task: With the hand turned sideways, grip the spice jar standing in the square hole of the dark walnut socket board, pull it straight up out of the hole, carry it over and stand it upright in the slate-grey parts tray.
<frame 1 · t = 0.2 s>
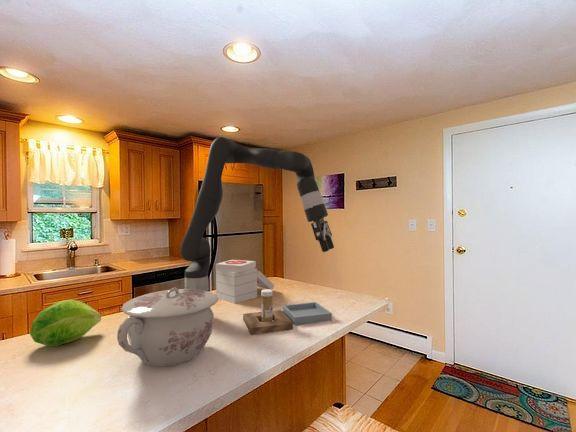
hand: (328, 250, 104), 31 cm above the countertop, tool tilted 20°, fingers open, 8 cm apart
parts tray: (306, 316, 126), on the countertop
cocoa: (138, 322, 119), on the countertop
green papaya: (68, 341, 102), on the countertop
chamber pot: (171, 355, 92), on the countertop
pizza boxes: (244, 295, 158), on the countertop
socket board: (267, 324, 117), on the countertop
spice jar: (267, 325, 117), resting in socket board
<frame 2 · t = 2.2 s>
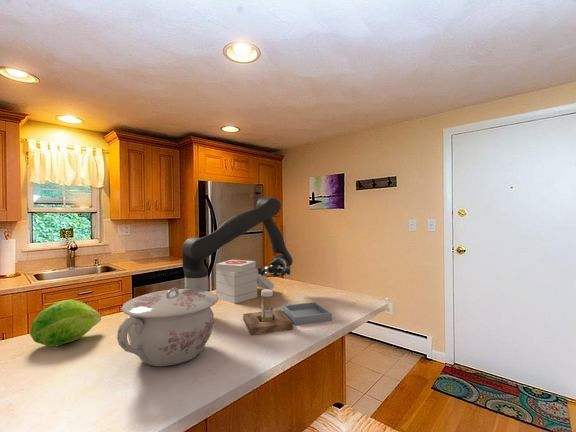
hand: (272, 273, 127), 18 cm above the countertop, tool horizontal, fingers open, 8 cm apart
nothing on the countertop moved.
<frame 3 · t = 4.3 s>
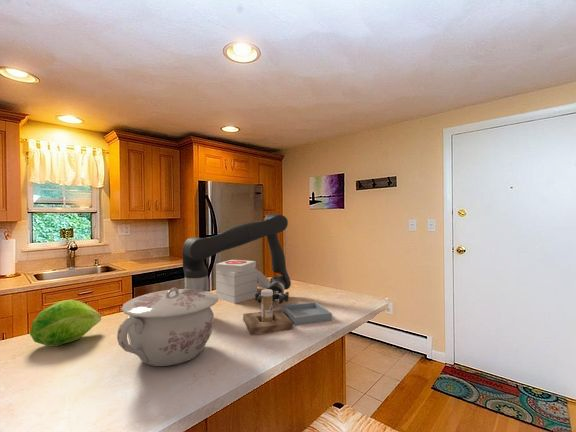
hand: (269, 301, 122), 8 cm above the countertop, tool horizontal, fingers open, 8 cm apart
nothing on the countertop moved.
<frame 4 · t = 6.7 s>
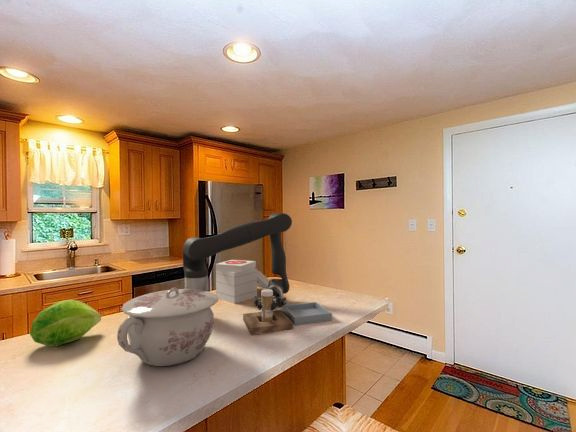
hand: (265, 307, 114), 8 cm above the countertop, tool horizontal, fingers closed on spice jar, 4 cm apart
spice jar: (267, 325, 117), resting in socket board, touching gripper
everything else where it was.
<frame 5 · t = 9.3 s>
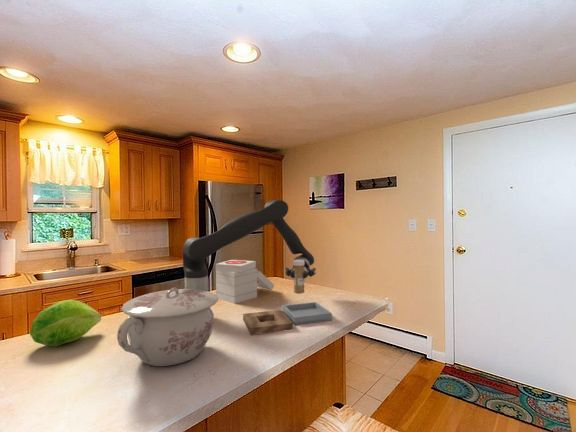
hand: (298, 275, 121), 18 cm above the countertop, tool horizontal, fingers closed on spice jar, 4 cm apart
spice jar: (299, 292, 124), point 10 cm above the countertop, touching gripper
everything else where it was.
when the fingers open (10 cm above the countertop, at t = 11.9 s): spice jar drops 1 cm, resting on parts tray.
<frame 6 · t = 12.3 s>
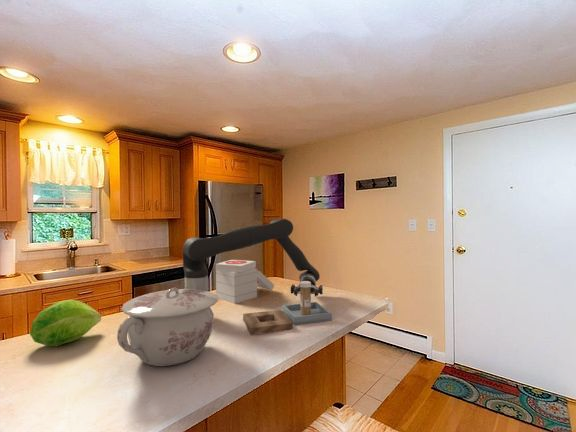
hand: (305, 293, 124), 10 cm above the countertop, tool horizontal, fingers open, 7 cm apart
spice jar: (305, 314, 126), point 1 cm above the countertop, touching parts tray
everything else where it was.
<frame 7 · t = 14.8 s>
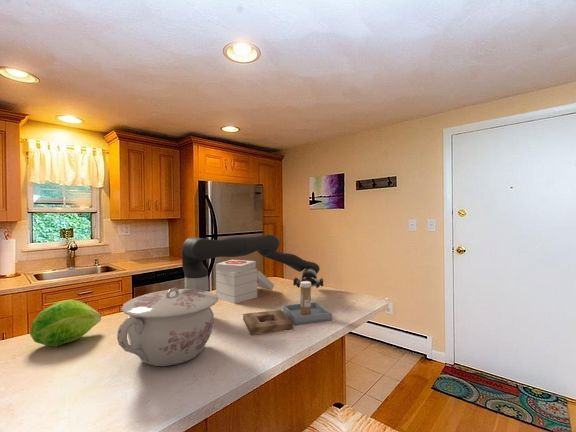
hand: (307, 285, 137), 10 cm above the countertop, tool horizontal, fingers open, 8 cm apart
nothing on the countertop moved.
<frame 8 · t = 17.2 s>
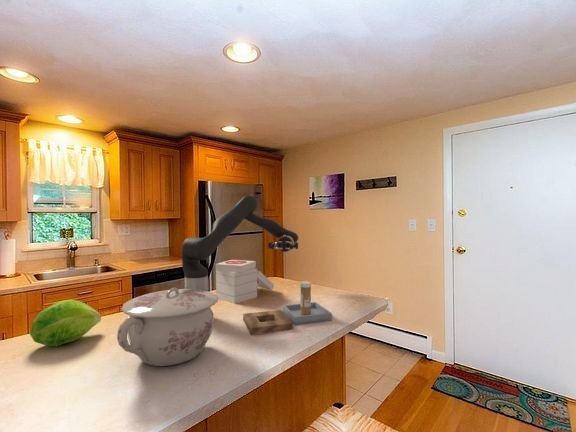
hand: (281, 247, 136), 28 cm above the countertop, tool horizontal, fingers open, 8 cm apart
nothing on the countertop moved.
at the end: spice jar inside the target area on the parts tray (0.2 cm from its centre), point 0.8 cm above the parts tray's base; spice jar tilted 0°; the gripper is holding nothing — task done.
